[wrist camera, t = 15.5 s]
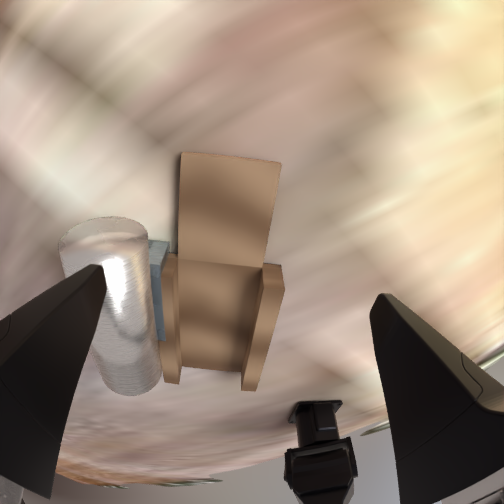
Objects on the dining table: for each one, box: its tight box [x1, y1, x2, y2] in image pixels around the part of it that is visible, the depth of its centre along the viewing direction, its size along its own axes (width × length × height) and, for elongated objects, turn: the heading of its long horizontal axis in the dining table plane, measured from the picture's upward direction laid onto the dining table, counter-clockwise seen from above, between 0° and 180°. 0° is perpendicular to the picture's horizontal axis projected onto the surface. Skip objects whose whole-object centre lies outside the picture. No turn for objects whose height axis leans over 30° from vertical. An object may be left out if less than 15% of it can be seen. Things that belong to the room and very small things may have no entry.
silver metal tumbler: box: [58, 217, 162, 396], centre depth 19 cm, size 13×6×6 cm, turn 172°
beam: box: [158, 152, 285, 391], centre depth 23 cm, size 22×9×3 cm, turn 172°
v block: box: [148, 240, 170, 341], centre depth 22 cm, size 8×6×3 cm
